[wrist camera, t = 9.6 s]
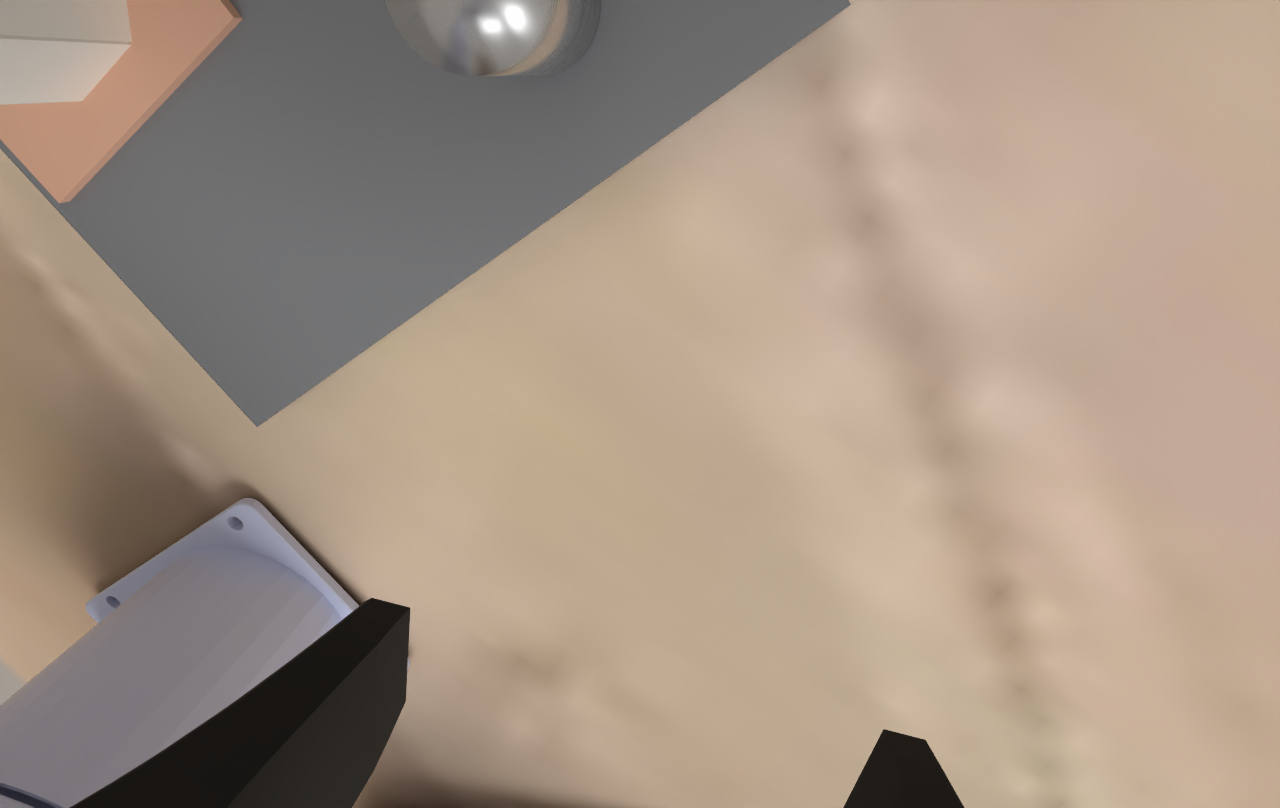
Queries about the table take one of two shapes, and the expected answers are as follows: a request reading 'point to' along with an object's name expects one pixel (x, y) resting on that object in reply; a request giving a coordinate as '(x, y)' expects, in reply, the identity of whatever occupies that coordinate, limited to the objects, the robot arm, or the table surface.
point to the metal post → (498, 34)
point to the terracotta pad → (116, 94)
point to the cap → (58, 47)
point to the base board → (380, 170)
